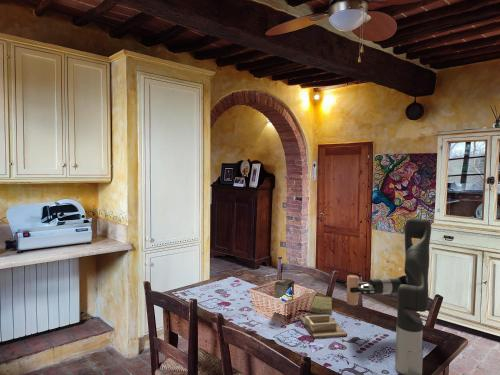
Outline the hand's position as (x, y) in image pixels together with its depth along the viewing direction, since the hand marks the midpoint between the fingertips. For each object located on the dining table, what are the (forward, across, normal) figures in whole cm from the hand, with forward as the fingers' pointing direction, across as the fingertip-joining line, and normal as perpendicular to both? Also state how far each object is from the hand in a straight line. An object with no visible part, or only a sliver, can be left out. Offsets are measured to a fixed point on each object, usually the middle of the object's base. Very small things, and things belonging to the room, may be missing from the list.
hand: (347, 288), depth 177 cm
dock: (+11, -2, +20) cm, 23 cm away
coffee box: (+24, -24, +20) cm, 40 cm away
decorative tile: (+6, -28, +20) cm, 35 cm away
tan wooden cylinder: (-3, 0, +8) cm, 8 cm away
